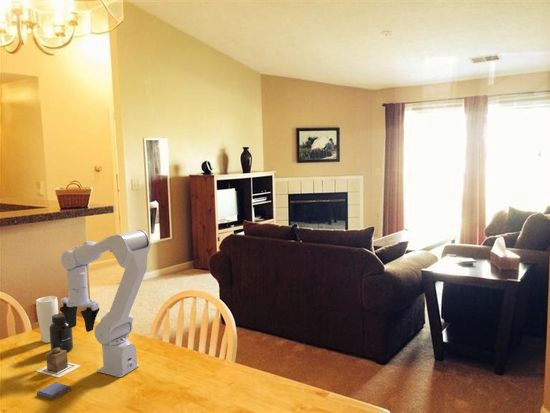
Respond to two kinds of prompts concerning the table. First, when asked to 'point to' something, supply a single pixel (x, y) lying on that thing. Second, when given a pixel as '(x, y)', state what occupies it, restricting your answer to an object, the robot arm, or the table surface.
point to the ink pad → (53, 391)
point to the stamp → (56, 360)
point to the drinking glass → (46, 315)
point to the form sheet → (61, 373)
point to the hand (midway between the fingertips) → (81, 328)
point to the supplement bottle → (60, 333)
